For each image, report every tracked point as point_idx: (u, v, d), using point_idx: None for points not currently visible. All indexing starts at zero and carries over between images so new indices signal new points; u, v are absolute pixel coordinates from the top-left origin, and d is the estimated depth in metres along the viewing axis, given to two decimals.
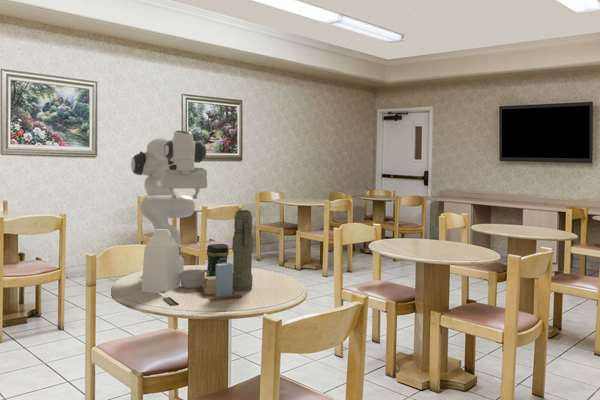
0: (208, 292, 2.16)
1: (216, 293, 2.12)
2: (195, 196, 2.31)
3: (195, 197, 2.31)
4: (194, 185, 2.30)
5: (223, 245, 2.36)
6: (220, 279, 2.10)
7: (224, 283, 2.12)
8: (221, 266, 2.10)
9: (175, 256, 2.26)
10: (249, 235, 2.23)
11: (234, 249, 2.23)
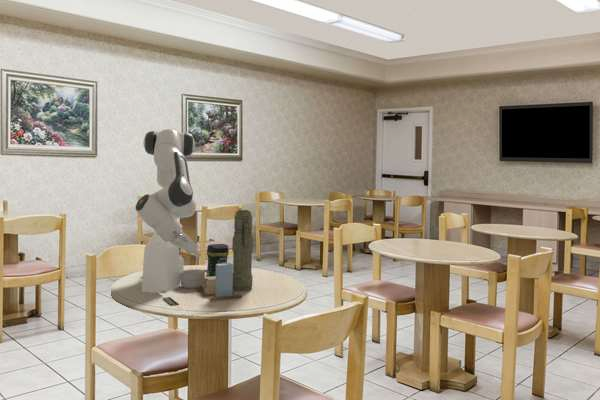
0: (208, 292, 2.16)
1: (216, 293, 2.12)
2: None
3: None
4: (184, 249, 2.00)
5: (223, 246, 2.36)
6: (220, 279, 2.10)
7: (224, 283, 2.12)
8: (221, 266, 2.10)
9: (175, 256, 2.26)
10: (249, 235, 2.23)
11: (234, 249, 2.23)
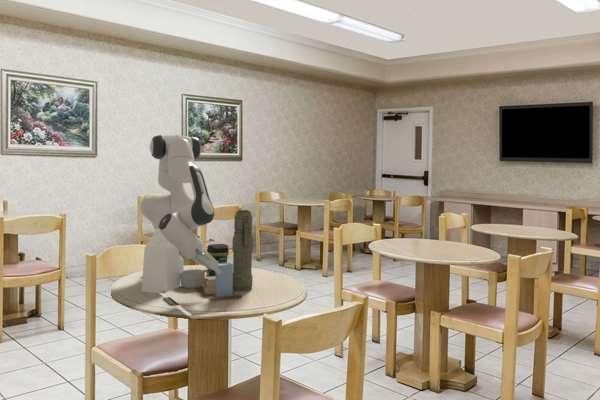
0: (208, 292, 2.16)
1: (216, 293, 2.12)
2: None
3: (217, 273, 2.06)
4: (205, 266, 2.04)
5: (223, 246, 2.36)
6: (220, 279, 2.10)
7: (224, 283, 2.12)
8: (221, 266, 2.10)
9: (175, 256, 2.26)
10: (249, 235, 2.23)
11: (234, 249, 2.23)
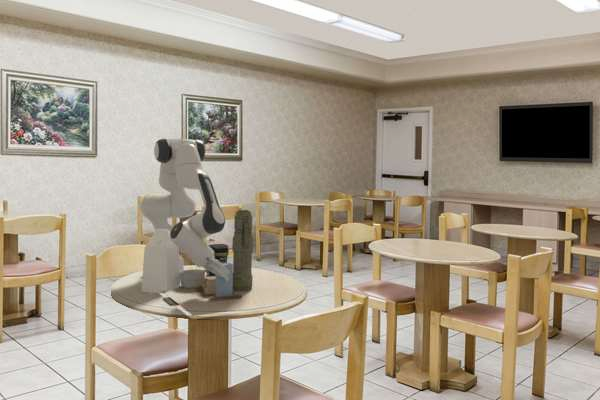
0: (208, 292, 2.16)
1: (216, 293, 2.12)
2: (224, 279, 2.11)
3: (225, 280, 2.11)
4: (216, 274, 2.07)
5: (223, 246, 2.36)
6: (220, 279, 2.10)
7: (224, 283, 2.12)
8: None
9: (175, 256, 2.26)
10: (249, 235, 2.23)
11: (234, 249, 2.23)
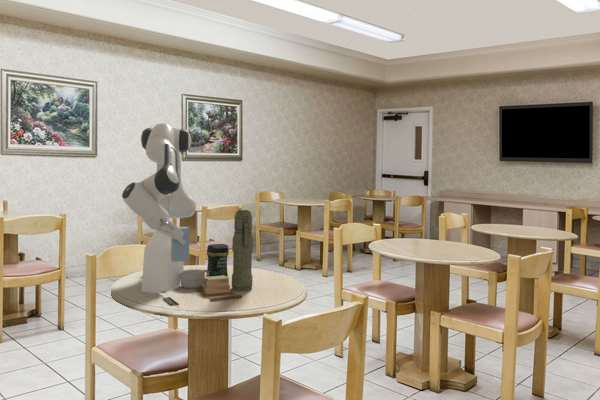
0: (208, 292, 2.16)
1: (172, 257, 2.06)
2: None
3: (181, 243, 2.05)
4: (171, 236, 2.01)
5: (223, 246, 2.36)
6: (176, 242, 2.04)
7: (180, 247, 2.06)
8: None
9: None
10: (249, 235, 2.23)
11: (234, 249, 2.23)
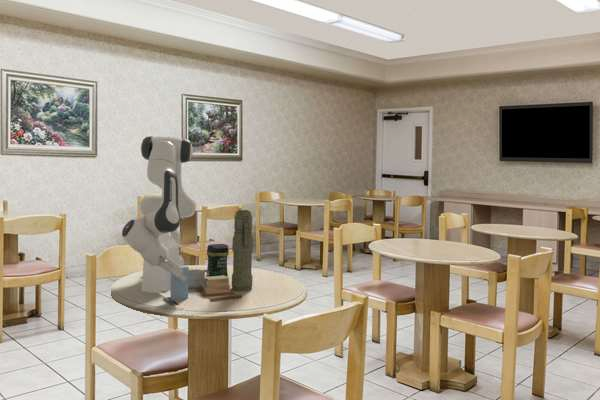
0: (208, 292, 2.16)
1: (171, 296, 2.08)
2: (181, 279, 2.04)
3: (182, 280, 2.04)
4: None
5: (223, 246, 2.36)
6: (175, 282, 2.06)
7: (179, 286, 2.07)
8: None
9: (175, 256, 2.26)
10: (249, 235, 2.23)
11: (234, 249, 2.23)
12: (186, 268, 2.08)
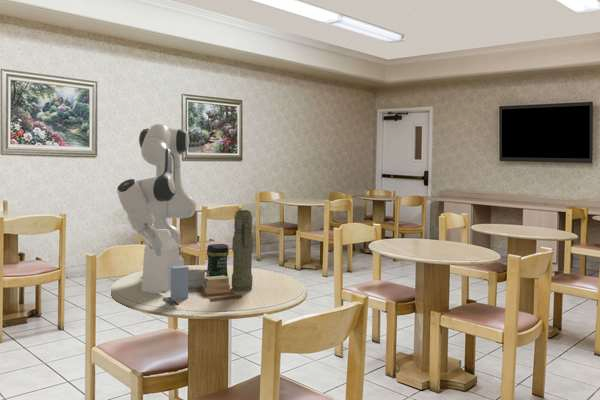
0: (208, 292, 2.16)
1: (171, 296, 2.08)
2: (156, 253, 2.01)
3: (157, 254, 2.01)
4: (148, 243, 1.99)
5: (223, 246, 2.36)
6: (175, 282, 2.06)
7: (179, 286, 2.07)
8: (176, 269, 2.05)
9: (175, 256, 2.26)
10: (249, 235, 2.23)
11: (234, 249, 2.23)
12: (186, 268, 2.08)
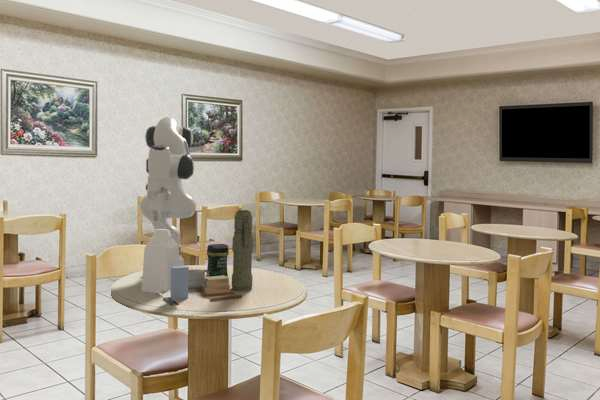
0: (208, 292, 2.16)
1: (171, 296, 2.08)
2: (160, 220, 2.03)
3: (160, 221, 2.03)
4: (157, 207, 2.03)
5: (223, 246, 2.36)
6: (175, 282, 2.06)
7: (179, 286, 2.07)
8: (176, 269, 2.05)
9: (175, 256, 2.26)
10: (249, 235, 2.23)
11: (234, 249, 2.23)
12: (186, 268, 2.08)
